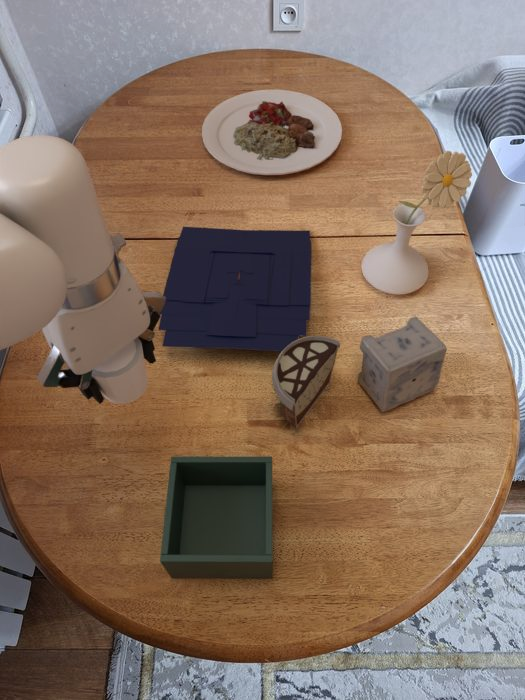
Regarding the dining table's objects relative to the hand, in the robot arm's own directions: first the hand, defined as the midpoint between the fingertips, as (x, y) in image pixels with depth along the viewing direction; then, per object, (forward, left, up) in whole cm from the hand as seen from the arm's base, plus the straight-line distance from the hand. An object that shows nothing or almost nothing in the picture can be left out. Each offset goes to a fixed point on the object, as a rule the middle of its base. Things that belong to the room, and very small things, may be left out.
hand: (120, 374), depth 65 cm
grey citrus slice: (+20, -10, -18) cm, 29 cm away
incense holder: (+32, -19, -18) cm, 41 cm away
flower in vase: (+50, -6, -18) cm, 54 cm away
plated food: (+63, +38, -18) cm, 76 cm away
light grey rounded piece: (0, 0, -2) cm, 2 cm away
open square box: (-1, -17, -17) cm, 25 cm away
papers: (+28, +11, -18) cm, 35 cm away
